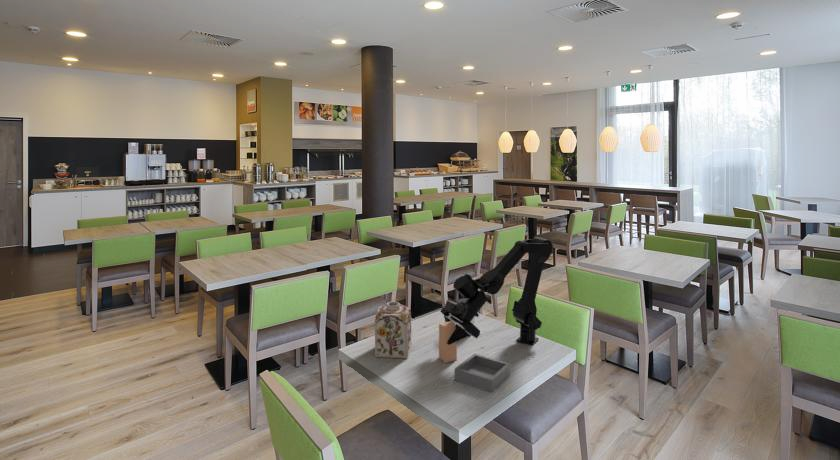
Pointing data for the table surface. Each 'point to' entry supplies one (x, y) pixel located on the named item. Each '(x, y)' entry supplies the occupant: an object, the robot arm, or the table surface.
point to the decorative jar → (393, 331)
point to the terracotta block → (445, 350)
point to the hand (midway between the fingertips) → (444, 341)
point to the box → (482, 372)
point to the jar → (475, 319)
